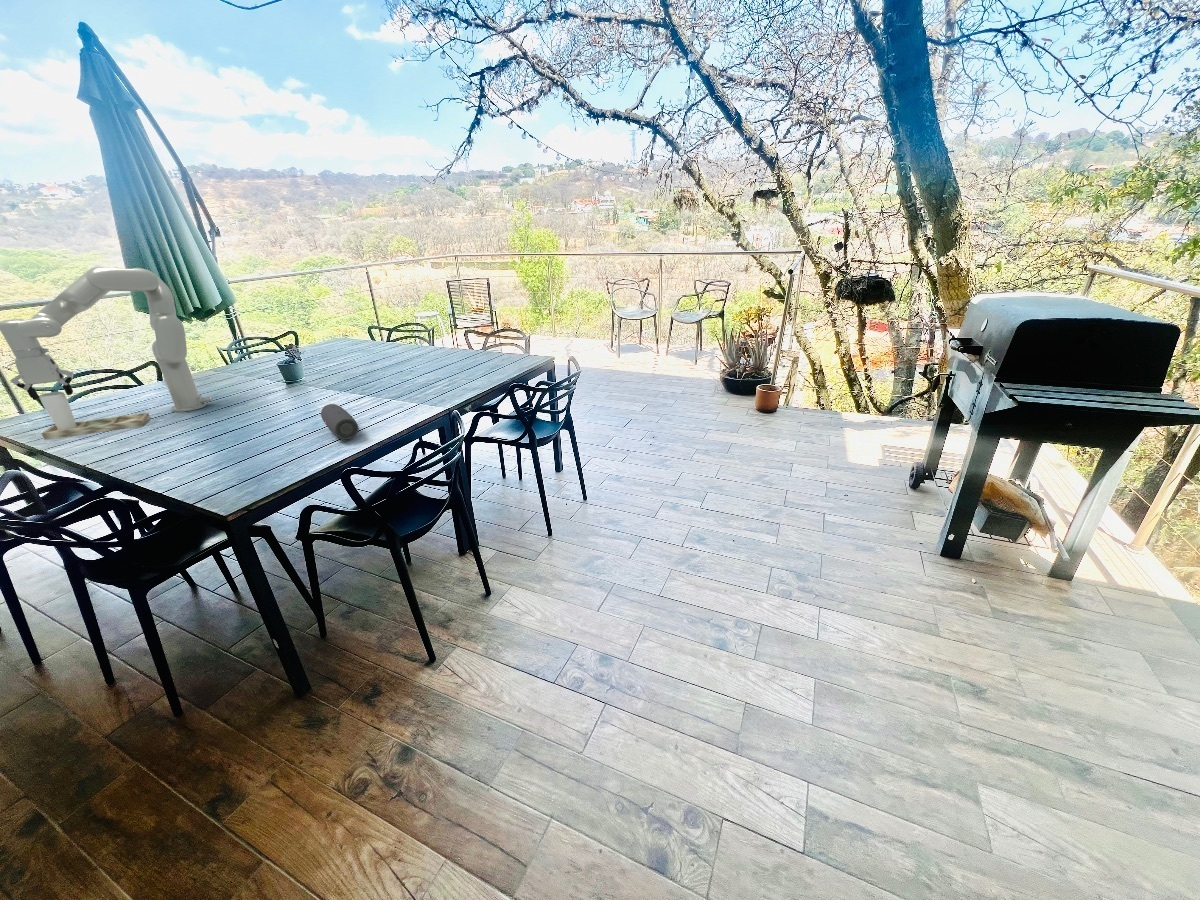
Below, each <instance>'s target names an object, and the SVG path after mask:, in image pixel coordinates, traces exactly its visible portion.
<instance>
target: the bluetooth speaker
mask: <svg viewBox="0 0 1200 900" xmlns="http://www.w3.org/2000/svg"><path fill="white" fill-rule="evenodd" d="M320 417H321V419H322V421H323V423H324V424H325V426H326V427H327V428H328V429H329V431H331V433H333V434H334V435H335V436H336V437H338V438H340V439H342V440H351V439H353V438H355V437H356V436H357V435H358V433H359V430H360V428H359V424H358V423H357V420H355V419H354V417H353V416H352V415H351V414H350V413H349V412H348V411H347V410H346V409H345V408H343V407H342V406H340V405H338V404H337V403H335V404H334V403H328V404H326V405H324V406H323V408H322V409H321V410H320Z"/></svg>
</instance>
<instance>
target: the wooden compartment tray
mask: <svg viewBox="0 0 1200 900" xmlns="http://www.w3.org/2000/svg"><path fill="white" fill-rule="evenodd" d="M150 419H151V415H150V413H149V412H142V413H135V414H127V415H119V416H111V417H103V418H96V419H89V420H82V421H75V423H76V425H77V428H75V429H67V430H60V431H59V430H58V429H57V427H56V425H55V424H53V425H51V426H50V427H48V428H47V429H46V430H45V431H43V432H42V433H41V436H42V438H43V440H53V439H59V438H65V437H67V438H68V437H73V436H79V435H80V434H81V435H88V434H95V432H96V433H102V432H109V431H118V430H125V429H132V428H137V427H144V426H145V425H146V424H147V423H148V422H149V420H150Z"/></svg>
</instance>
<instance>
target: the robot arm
mask: <svg viewBox="0 0 1200 900" xmlns="http://www.w3.org/2000/svg"><path fill="white" fill-rule="evenodd" d="M109 292H143V294H144V295H145V297H146V300H147V306H148V314H149V315H148V316H149V324H150V327H151V329H152V330H153V331H154V335H155V341H154V342H153V343H152V345H151V351H152V354H153V355H154V358H155V360H156V362H157V364H158V367H159V368H160V372H161V373H162V377H163V380H164V382H165V384H166V386H167V389H168V392H169V393H170V394H169V395H170V396H171V397H170V398H171V400H172V402H173V406H172V407H171V408H170V409H171V411H172V412H176V413H181V412H183V413H184V412H191V411H196V410H198V409H203V408H205V407H206V406H207V403H209V402H213V397H212V396H206V397H204V396H202V394H199V392H198V390H197V389H198V388H197V386H196V383H195V380H194V377H193V375H192V372H191V369H190V367H189V365H188V361H187V360H186V359H187V354H188V349H187V348H188V347H187V340H186V332H185V326H184V324H183V322H182V320H181V319H179V318H178V316H177V312H176V306H175V299H174V295H173V293H172V291H171V289H170V288H169V286H168V285H167V284H166V282H164V280H162V279H161V277H158V276H157V275H156V274H155V273H154V272H153V271H151V270H149V269H146V268H141V267H132V268H116V267H115V268H114V267H104V266H93V267H91V268H90V269H88V270H86V271H85V273H83V274H82V275H81V276H79V277H78V278H77V279H76V280H75V281H74V282H73V283H71V284H70V285H69V286H68V287H66V288H65V289H64V290H62V292H61V293H59V294H58V295H56V297H55V298H53V300H51V301H50V302H48V303H47V304H45V306H43V307H42V308H41V309H39V310H38V311H37V312H36V314H34V315H33V316H32V317H31V318H29V319H28V318H27V319H24V318H13V319H11V318H10V319H5V320H1V321H0V333H1V335H2V336H3V338H4V340H5V342H6V343H7V344H8V346H9V349H10V350H11V352H12V353H13V355H14V357H15V359H14V364H15V367H16V369H17V371H18V375H17V376H15V377H13V378H11V379H10V383H12V384H13V385H15V386H16V387H18V388H21V389H22V390H24V391H26V392H27V394H28V395H29V397H30V398H32V400H33V401H36V400H38V399H40V397H39V396H40V394H39V393H37V390H36V389H35V388H34V387H33V385H39V384H40V385H41V384H48V383H55V382H56V383H59V384H62V389H63V390H64V393H65V395H67V396H71V395H72V394H74V393H73V392H74V390H73V387H72V386H71V384H70V383H71V382H72V381H73V380H74V371H69V370H66V369H60V367H59V365H58V364H57V363H56V361H55V360H54V359H53V357H52V356H51V355H50V354H49V352H50V350H49V348H44V347H43V346H42V345H41V344H40V342H39V338H54V337H57V336H59V335H60V334H61V332H62V331H63V329H62V327H63V326H64V325H65V324H66V323H68V322H69V321H71V320H72V319H73V318H74V317H75V316H77V315H78V314H81V313H82V312H86V311H88V310H89V309H91V308H92V307H94V305H96V303H98V302H99V301H100V300H101V299H102V298H103V297H105V296H106V295H107V294H108V293H109ZM46 353H47V354H46ZM65 375H66V376H67V377H66V378H64V377H65ZM21 379H22V381H23V382H24V383H23V382H21V381H20V380H21Z"/></svg>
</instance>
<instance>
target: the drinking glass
mask: <svg viewBox="0 0 1200 900" xmlns="http://www.w3.org/2000/svg"><path fill="white" fill-rule="evenodd" d="M39 399H40V401H41V404H42V405H43V408H44V409H45V411H46V412H47V414H48V416H49V417H50V418H51V420H52V421H53V423H54V425H56V427H57V429H58V430H59V431H60V430H67V429H75V428H77V425H76V423H75V422H76V420H75V418H74V415H73V411H72V408H71V405H70V403H69V400H68V398H67V396H66V393H65V391H52V392H51V391H50V392H46V393H43V394H39Z"/></svg>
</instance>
